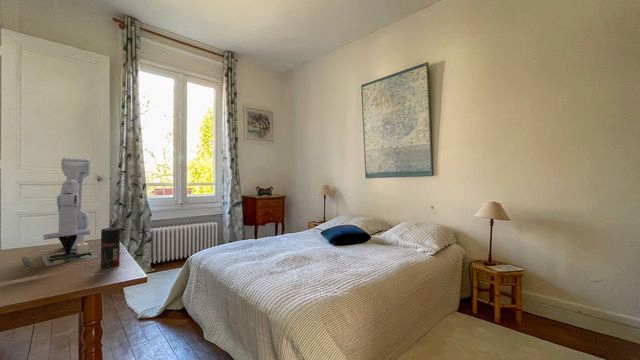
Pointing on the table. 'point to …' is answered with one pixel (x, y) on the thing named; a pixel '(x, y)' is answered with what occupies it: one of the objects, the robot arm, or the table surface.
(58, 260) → the panel
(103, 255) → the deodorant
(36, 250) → the table surface
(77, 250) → the toggle
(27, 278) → the table surface
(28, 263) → the dark gray bar
